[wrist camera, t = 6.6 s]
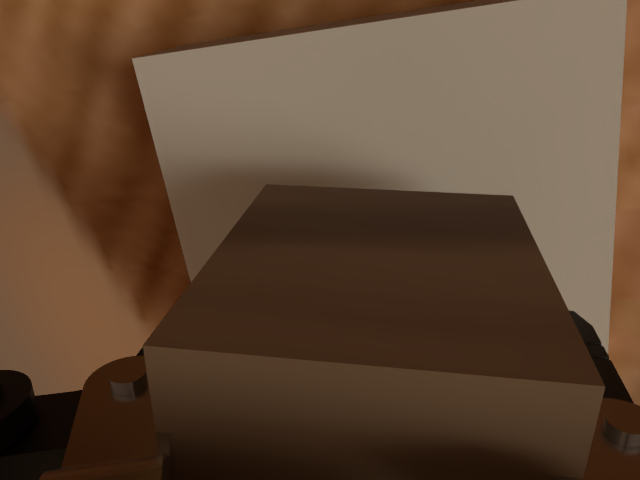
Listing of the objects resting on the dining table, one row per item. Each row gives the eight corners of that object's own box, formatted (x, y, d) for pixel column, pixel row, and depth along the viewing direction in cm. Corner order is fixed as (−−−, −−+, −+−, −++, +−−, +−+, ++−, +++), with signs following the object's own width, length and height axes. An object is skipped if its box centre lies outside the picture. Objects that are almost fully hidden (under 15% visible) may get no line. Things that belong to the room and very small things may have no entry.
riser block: (190, 43, 17) (131, 58, 14) (577, -16, 15) (627, -16, 12) (258, 348, 22) (227, 421, 18) (569, 335, 19) (604, 416, 16)
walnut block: (266, 184, 12) (142, 345, 7) (513, 195, 11) (605, 385, 6) (274, 379, 14) (184, 627, 9) (484, 399, 13) (533, 682, 8)
